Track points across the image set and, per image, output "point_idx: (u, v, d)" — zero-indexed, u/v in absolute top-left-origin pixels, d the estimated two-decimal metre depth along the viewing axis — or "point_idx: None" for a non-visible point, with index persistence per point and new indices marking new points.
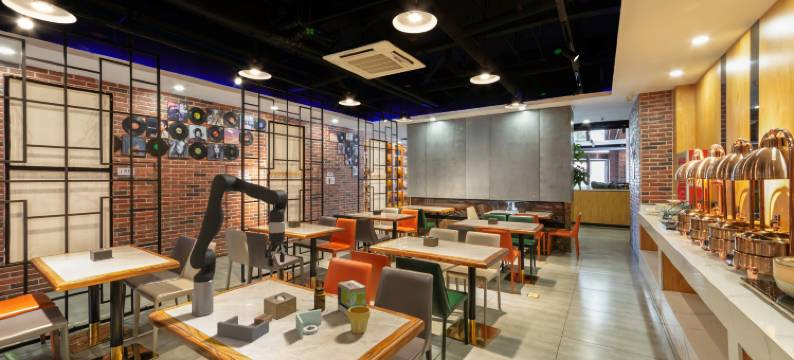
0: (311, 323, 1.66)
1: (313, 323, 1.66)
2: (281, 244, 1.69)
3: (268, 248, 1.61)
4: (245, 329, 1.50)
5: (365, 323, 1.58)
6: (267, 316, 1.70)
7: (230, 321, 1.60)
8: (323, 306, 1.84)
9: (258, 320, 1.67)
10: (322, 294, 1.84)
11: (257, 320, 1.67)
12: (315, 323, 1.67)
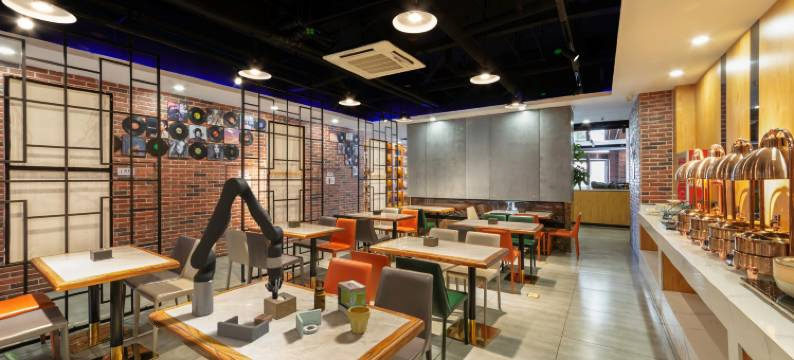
0: (311, 323, 1.66)
1: (313, 323, 1.67)
2: (279, 278, 1.79)
3: (268, 287, 1.72)
4: (245, 329, 1.50)
5: (365, 323, 1.58)
6: (267, 316, 1.70)
7: (230, 321, 1.60)
8: (323, 306, 1.84)
9: (258, 320, 1.67)
10: (322, 294, 1.84)
11: (257, 320, 1.67)
12: (315, 323, 1.67)
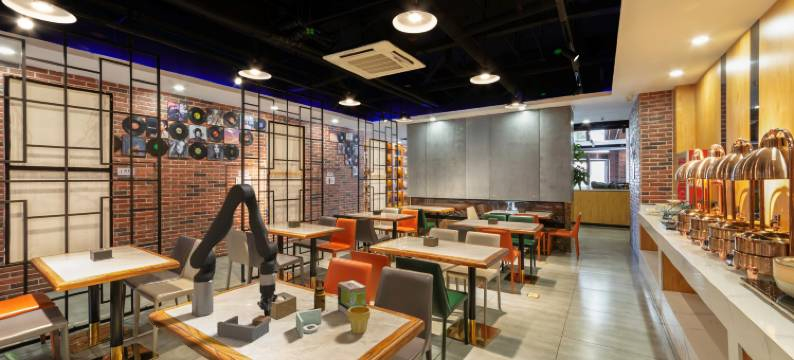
0: (311, 322, 1.67)
1: (313, 322, 1.67)
2: (272, 295, 1.74)
3: (261, 305, 1.67)
4: (245, 329, 1.50)
5: (365, 323, 1.58)
6: (265, 317, 1.69)
7: (230, 321, 1.60)
8: (323, 306, 1.84)
9: (256, 321, 1.66)
10: (322, 294, 1.84)
11: (255, 321, 1.66)
12: (315, 322, 1.68)
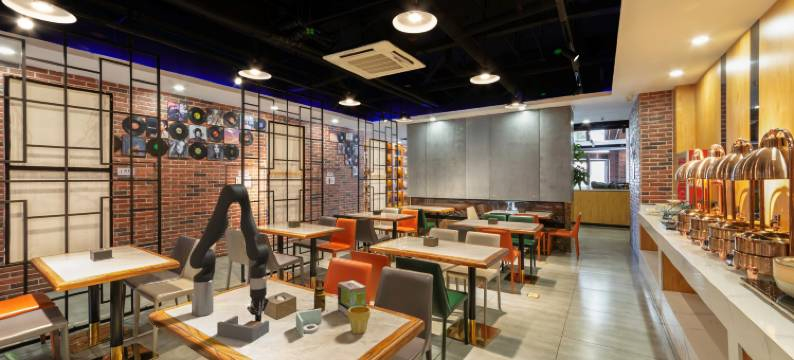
0: (311, 322, 1.67)
1: (313, 322, 1.67)
2: (263, 299, 1.67)
3: (251, 310, 1.61)
4: (245, 329, 1.50)
5: (365, 323, 1.58)
6: (256, 323, 1.62)
7: (230, 321, 1.60)
8: (323, 306, 1.84)
9: None
10: (322, 294, 1.84)
11: None
12: (315, 322, 1.68)
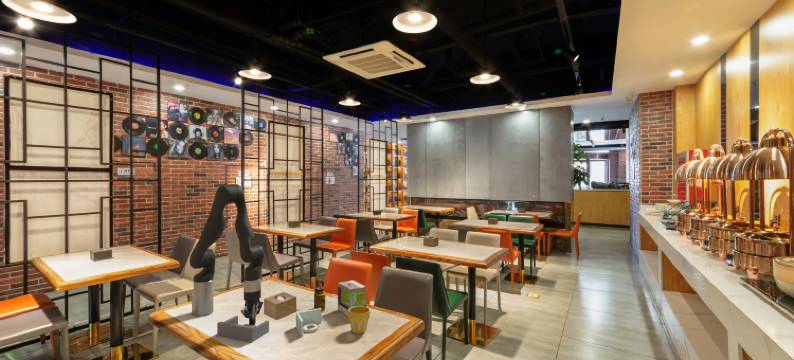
0: (311, 322, 1.67)
1: (313, 322, 1.68)
2: (257, 302, 1.63)
3: (244, 313, 1.57)
4: (245, 329, 1.50)
5: (365, 323, 1.58)
6: None
7: (230, 321, 1.60)
8: (323, 306, 1.84)
9: None
10: (322, 294, 1.84)
11: None
12: (315, 322, 1.68)
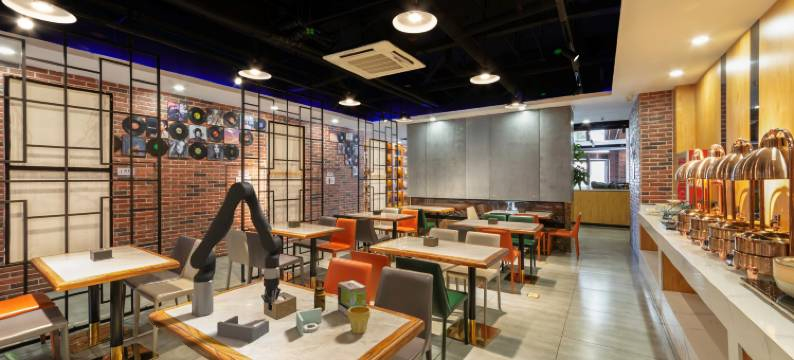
0: (311, 321, 1.68)
1: (313, 321, 1.68)
2: (276, 288, 1.77)
3: (265, 298, 1.70)
4: (245, 329, 1.50)
5: (365, 323, 1.58)
6: None
7: (230, 321, 1.60)
8: (323, 306, 1.84)
9: None
10: (322, 294, 1.84)
11: None
12: (315, 321, 1.69)
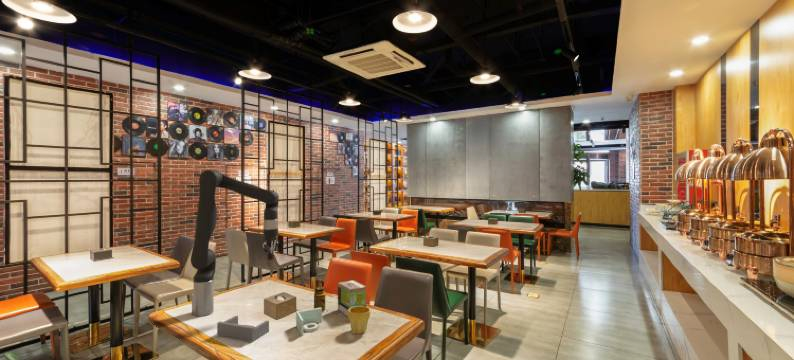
0: (311, 321, 1.68)
1: (313, 321, 1.69)
2: (275, 240, 1.87)
3: (264, 247, 1.81)
4: (245, 329, 1.50)
5: (365, 323, 1.58)
6: None
7: (230, 321, 1.60)
8: (323, 306, 1.84)
9: None
10: (322, 294, 1.84)
11: None
12: (315, 321, 1.69)
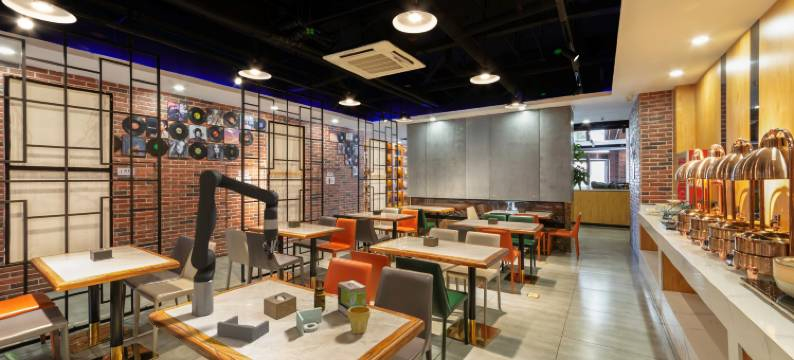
0: (311, 321, 1.68)
1: (313, 321, 1.69)
2: (275, 239, 1.87)
3: (264, 247, 1.81)
4: (245, 329, 1.50)
5: (365, 323, 1.58)
6: None
7: (230, 321, 1.60)
8: (323, 306, 1.84)
9: None
10: (322, 294, 1.84)
11: None
12: (315, 321, 1.69)
